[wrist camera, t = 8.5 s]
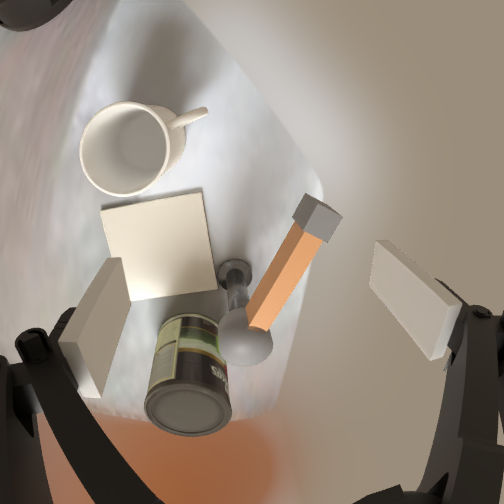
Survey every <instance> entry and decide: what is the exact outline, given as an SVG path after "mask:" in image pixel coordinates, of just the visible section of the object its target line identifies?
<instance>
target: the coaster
mask: <svg viewBox="0 0 504 504" xmlns="http://www.w3.org/2000/svg"><path fill="white" fill-rule="evenodd" d="M100 215H101V219H102V223H103V227H104V230H105V234H106V238H107V242H108V245H109V249H110V252H111V256H112V258H114V257H121V258H122V263H123V268H124V273H125V278H126V283H127V287H128V292H129V296H130V301H135V300H143V299H150V298H158V297H165V296H173V295H180V294H187V293H194V292H201V291H208V290H215V289H218V286H217V280H216V275H215V269H214V264H213V258H212V253H211V247H210V241H209V235H208V229H207V224H206V218H205V211H204V205H203V199H202V193H201V192H197V193H191V194H185V195H179V196H173V197H167V198H162V199H156V200H151V201H145V202H140V203H135V204H130V205H124V206H119V207H114V208H110V209H105V210H101V211H100Z"/></svg>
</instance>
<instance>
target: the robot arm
mask: <svg viewBox="0 0 504 504" xmlns="http://www.w3.org/2000/svg"><path fill="white" fill-rule="evenodd" d="M71 1H72V0H0V26H2V27H4V28H7V29H9V30H13V31H28V30H31V29H34V28H37V27H39V26H41V25H43V24H45V23H47V22H48V21H50V20H51V19H53V18H54V17H55V16H57V15H58V14H59V13H60V12H61V11H63V10H64V9H65V8H66V7H67V6H68V5H69V4H70V3H71ZM369 286H370V287H371V289H372V290H373V291H374V292H375V293H376V294H377V296H378V297H379V298H380V299H381V300H382V302H383V303H384V304H385V305H386V307H387V308H388V309H389V310H390V311H391V313H392V314H393V315H394V316H395V317H396V319H397V320H398V321H399V322H400V324H401V325H402V326H403V327H404V329H405V330H406V331H407V332H408V334H409V335H410V336H411V337H412V339H413V340H414V341H415V342H416V344H417V345H418V346H419V348H420V349H421V350H422V351H423V353H424V354H425V355H426V357H427V358H428V359H429V361H431V360H434V359H437V358H440V357H443V355H444V352H445V350H446V348H447V346H448V347H449V348H450V349H451V350H452V352H451V354H450V356H449V359H448V361H447V363H446V366H445V368H444V370H443V371H446V369H447V368H448V369H447V376H446V382H445V389H444V394H443V400H442V405H441V410H440V415H439V420H438V424H437V428H436V432H435V437H434V440H433V445H432V448H431V452H430V456H429V459H428V463H427V466H426V469H425V473H424V476H423V479H422V481H421V483H420V486H419V487H418V489H417V491H416V492H415V491H404V492H403V490H402V488H401V486H400V484H399V485H396V486H394V487H391V488H388V489H385V490H382V491H379V492H376V493H373V494H370V495H367V496H366V497H364V498H362V499H360V500H358V501H357V502H355V503H353V504H499V499H500V493H501V487H502V480H503V472H504V446H502V445H497V433H498V412H499V413H500V418H501V422H502V427H503V433H504V311H503V314H502V316H493V315H492V313H491V312H490V310H488V309H486V308H485V307H482V306H479V305H471V306H469V305H468V304H467V303H466V302H465V301H464V300H463V299H461V298H460V297H459V296H458V295H457V294H456V293H454V291H452V290H451V289H449V287H448V286H447V285H446V284H445V283H443V282H442V281H439V280H438V279H436V278H433V277H432V276H431V275H430V274H429V273H428V272H426V271H425V270H424V269H423V268H422V267H420V266H419V265H418V264H417V263H416V262H414V261H413V260H412V259H411V258H409V257H408V256H407V255H406V254H405V253H404V252H402V251H401V250H400V249H398V248H397V247H396V246H395V245H394V244H392V243H391V242H390V241H388V240H377V241H376V243H375V250H374V257H373V264H372V271H371V277H370V283H369ZM130 307H131V301H130V296H129V292H128V287H127V283H126V278H125V273H124V268H123V263H122V258H121V257H114V258H107V259H106V261H105V262H104V264H103V265H102V267H101V268H100V270H99V272H98V273H97V275H96V276H95V278H94V280H93V281H92V283H91V284H90V286H89V288H88V289H87V291H86V293H85V294H84V296H83V298H82V299H81V301H80V303H79V304H78V306H77V307H73V308H69V309H68V310H66V311H65V312H64V313H63V314H62V315H61V317H60V318H59V320H58V321H57V322H58V323H56V325H55V327H54V329H53V330H52V332H51V333H50V335H49V337H48V335H47V333H46V331H45V330H44V329H41V328H31V329H28V330H26V331H24V332H22V333H21V334H20V335H19V336H18V337H17V339H16V341H15V347H16V349H17V351H18V353H19V355H20V357H21V359H22V361H23V362H22V363H16V364H11V365H10V364H9V362H8V360H7V359H6V358H5V357H4V356H2V355H0V504H53V501H52V497H51V493H50V489H49V485H48V480H47V476H46V471H45V466H44V461H43V456H42V451H41V445H40V438H39V432H38V425H37V417H36V414H37V413H44V414H45V417H46V419H47V421H48V423H49V425H50V427H51V429H52V431H53V433H54V435H55V437H56V439H57V441H58V443H59V445H60V447H61V448H62V450H63V452H64V454H65V456H66V458H67V459H68V461H69V463H70V465H71V466H72V468H73V470H74V471H75V473H76V475H77V476H78V478H79V479H80V481H81V483H82V484H83V486H84V488H85V489H86V490H87V492H88V494H89V495H90V496H91V498H92V500H93V501H94V502H95V504H165V503H163V501H161V500H160V499H159V498H157V497H156V496H155V494H154V493H153V492H152V491H151V490H150V489H149V488H148V487H147V486H146V485H145V483H144V482H143V481H142V480H141V479H140V478H139V476H138V475H137V474H136V473H135V472H134V471H133V469H132V468H131V467H130V466H129V465H128V463H127V462H126V461H125V459H124V458H123V457H122V456H121V454H120V453H119V452H118V451H117V449H116V448H115V447H114V445H113V444H112V443H111V441H110V440H109V439H108V437H107V436H106V434H105V433H104V432H103V430H102V429H101V427H100V426H99V424H98V423H97V422H96V420H95V419H94V417H93V416H92V414H91V413H90V411H89V410H88V408H87V406H86V405H85V403H84V402H83V400H82V399H81V397H80V395H79V394H78V392H77V390H78V387H79V389H80V391H81V393H82V395H83V396H84V397H91V398H101V397H102V394H103V390H104V387H105V384H106V380H107V377H108V373H109V370H110V367H111V364H112V360H113V357H114V354H115V351H116V348H117V345H118V342H119V339H120V336H121V333H122V330H123V327H124V324H125V321H126V318H127V315H128V312H129V310H130Z"/></svg>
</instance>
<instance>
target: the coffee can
mask: <svg viewBox="0 0 504 504" xmlns="http://www.w3.org/2000/svg"><path fill="white" fill-rule="evenodd" d="M144 411H145V413H146V416H147V417H148V419H149V420H150V421H151V422H152V423H153V424H154V425H155V426H157V427H158V428H160V429H162V430H164V431H166V432H169V433H172V434H175V435H180V436H187V437H188V436H189V437H198V436H204V435H209V434H212V433H215V432H217V431H219V430H221V429H222V428H223V427H225V426H226V424H227V423H228V422H229V421H230V419H231V415H232V409H231V404H230V399H229V387H228V376H227V364H226V361H225V360H224V359H223V358H222V356H221V355H220V352H219V339H218V324H217V323H215V322H214V321H213V320H211V319H209V318H207V317H205V316H202V315H198V314H180V315H177V316H174V317H172V318H170V319H168V320H167V321H166V322H165V323H164V324H163V325H162V326H161V328H160V330H159V332H158V339H157V344H156V349H155V354H154V360H153V365H152V370H151V375H150V380H149V386H148V392H147V396H146V399H145V402H144Z"/></svg>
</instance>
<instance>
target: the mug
mask: <svg viewBox="0 0 504 504" xmlns="http://www.w3.org/2000/svg"><path fill="white" fill-rule="evenodd" d="M207 114H208V110H207V108H206V107H201V108H198V109H195V110H192V111H190V112H187V113H185V114H183V115H180V116H178V117H177V116H176V115H175V114H174V113H173V112H172V111H170V110H169V109H167V108H165V107H162V106H157V105H145V104H141V103H137V102H128V101H126V102H118V103H114V104H111V105H109V106H106V107H105V108H103V109H101V110H100V111H99V112H97V113H96V114H95V115H94V116H93V117H92V118H91V120H90V121H89V122H88V124H87V125H86V127H85V129H84V131H83V134H82V137H81V141H80V149H79V154H80V161H81V165H82V168H83V171H84V173H85V175H86V176H87V178H88V179H89V180H90V182H91V183H92V184H93V185H94V186H95V187H97V188H98V189H99V190H101V191H103V192H105V193H107V194H109V195H113V196H119V197H127V196H133V195H137V194H139V193H142V192H144V191H146V190H147V189H149V188H150V187H151V186H153V185H154V184H155V183H156V182H157V181H158V180H159V179H160V178H161V177H162V176H163V174H164V173H165V172H167V171H169V170H170V169H171V168H173V167H174V166H175V165H176V164H177V162H178V161H179V160H180V158H181V156H182V154H183V152H184V148H185V143H186V135H185V130H184V127H183V126H185V125H187V124H189V123H191V122H193V121H195V120H198V119H200V118H202V117H203V116H205V115H207Z"/></svg>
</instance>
